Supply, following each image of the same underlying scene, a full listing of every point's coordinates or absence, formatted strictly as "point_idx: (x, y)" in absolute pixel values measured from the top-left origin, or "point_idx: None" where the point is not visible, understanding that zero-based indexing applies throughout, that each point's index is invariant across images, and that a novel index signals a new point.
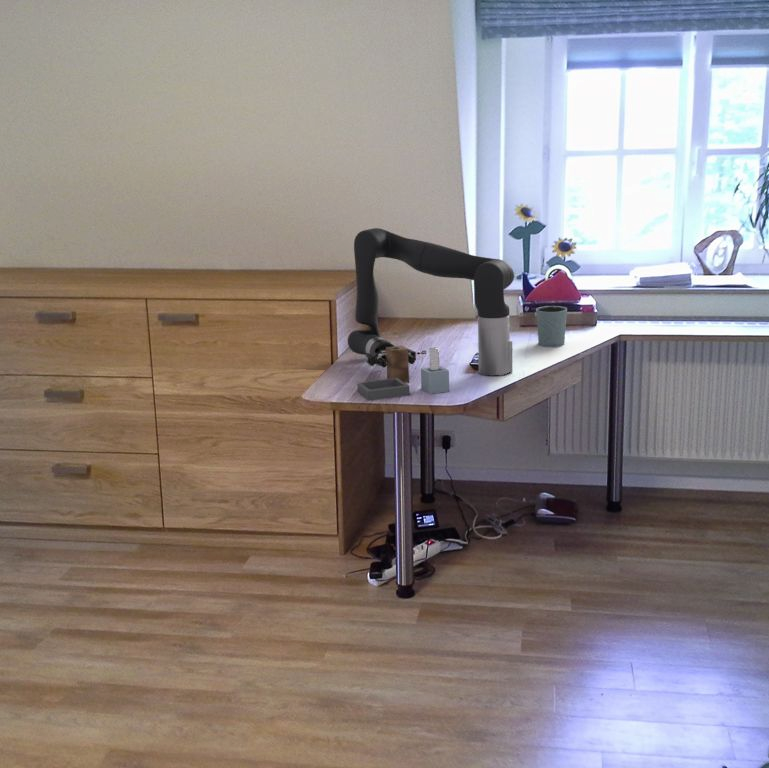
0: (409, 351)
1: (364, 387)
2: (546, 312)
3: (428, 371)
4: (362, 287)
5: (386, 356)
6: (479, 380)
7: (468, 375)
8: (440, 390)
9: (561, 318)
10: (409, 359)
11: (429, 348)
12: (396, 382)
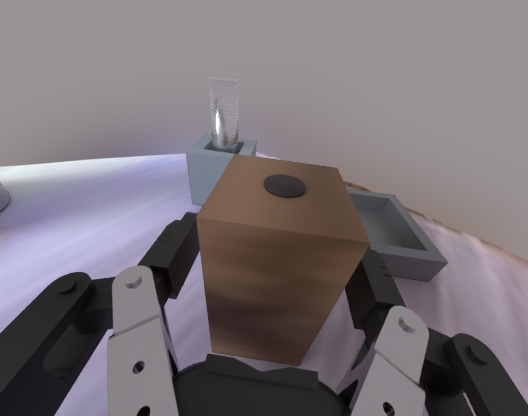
0: (34, 352)
1: (409, 217)
2: None
3: (249, 144)
4: None
5: (338, 288)
6: (78, 192)
7: (16, 234)
8: None
9: None
10: (191, 248)
11: (235, 81)
12: None
